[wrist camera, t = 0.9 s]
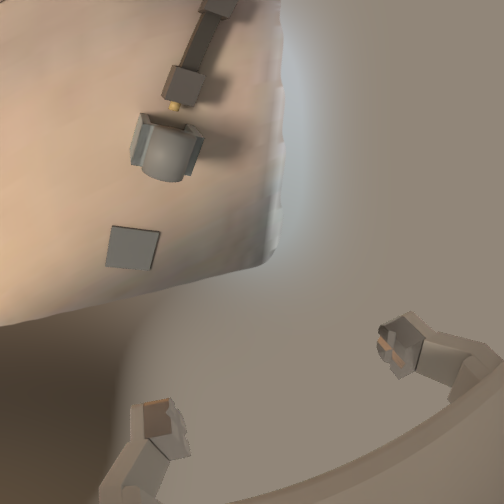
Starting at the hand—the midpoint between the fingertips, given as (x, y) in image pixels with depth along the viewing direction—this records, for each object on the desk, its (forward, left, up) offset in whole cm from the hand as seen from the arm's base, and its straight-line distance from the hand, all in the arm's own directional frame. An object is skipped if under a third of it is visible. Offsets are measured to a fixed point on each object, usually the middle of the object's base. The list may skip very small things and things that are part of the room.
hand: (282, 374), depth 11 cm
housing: (+4, +3, -44) cm, 44 cm away
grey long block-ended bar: (-11, +3, -44) cm, 46 cm away
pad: (+26, +3, -44) cm, 51 cm away
